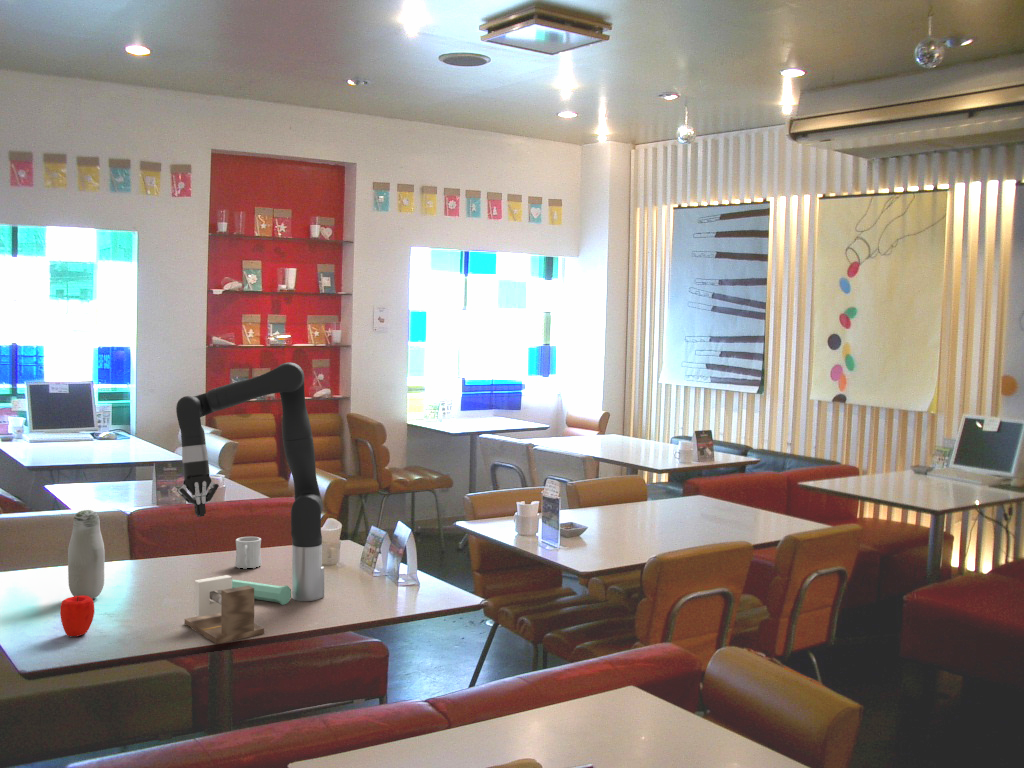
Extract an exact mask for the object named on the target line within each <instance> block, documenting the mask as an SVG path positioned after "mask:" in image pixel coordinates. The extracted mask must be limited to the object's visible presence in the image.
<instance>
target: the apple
mask: <svg viewBox="0 0 1024 768" xmlns="http://www.w3.org/2000/svg"><path fill="white" fill-rule="evenodd" d="M59 608H60V612H59V614H60V622H61V625H62V628H63V630H64V633H65V634H66V636H67V637H69V636H76V637H79V636H83V635H85V634H86V633H88V631H89V630H90V627H91V625H92V623H93V620H94V616H95V602H94V599H92V598H90V597H89V596H71V597H67V598H65V599H63V600H62V601H61V603H60V607H59Z"/></svg>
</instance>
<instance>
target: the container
mask: <svg viewBox="0 0 1024 768" xmlns="http://www.w3.org/2000/svg"><path fill="white" fill-rule="evenodd" d="M248 585H249V586H251V587H253V588H254V600H260V601H265V602H266V601H267V602H272V603H277V604H278V603H279V604H280V605H282V606H283V605H287V604H289V602H290V600H291V598H292V588H290V586H289V585H283V586H281V585H275V584H267V583H260V582H254V581H246V580H241V579H234V578H232V588H236V587H242V586H248Z"/></svg>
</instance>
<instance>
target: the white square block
mask: <svg viewBox="0 0 1024 768" xmlns="http://www.w3.org/2000/svg"><path fill="white" fill-rule="evenodd" d="M232 579H233V577H232V576H231V575H229V574H224V575H219V576H213V577H212V576H211V577H207V578H201V579H195V580H194V616H195V617H197V616H198V617H202V616H207V615H213V614H218V613H221V604H219V603H217V602H215V601H213V600H211V599H210V592H211V591H215V592H217V593H219V594H221V590H225V589H231V588H232Z"/></svg>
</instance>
